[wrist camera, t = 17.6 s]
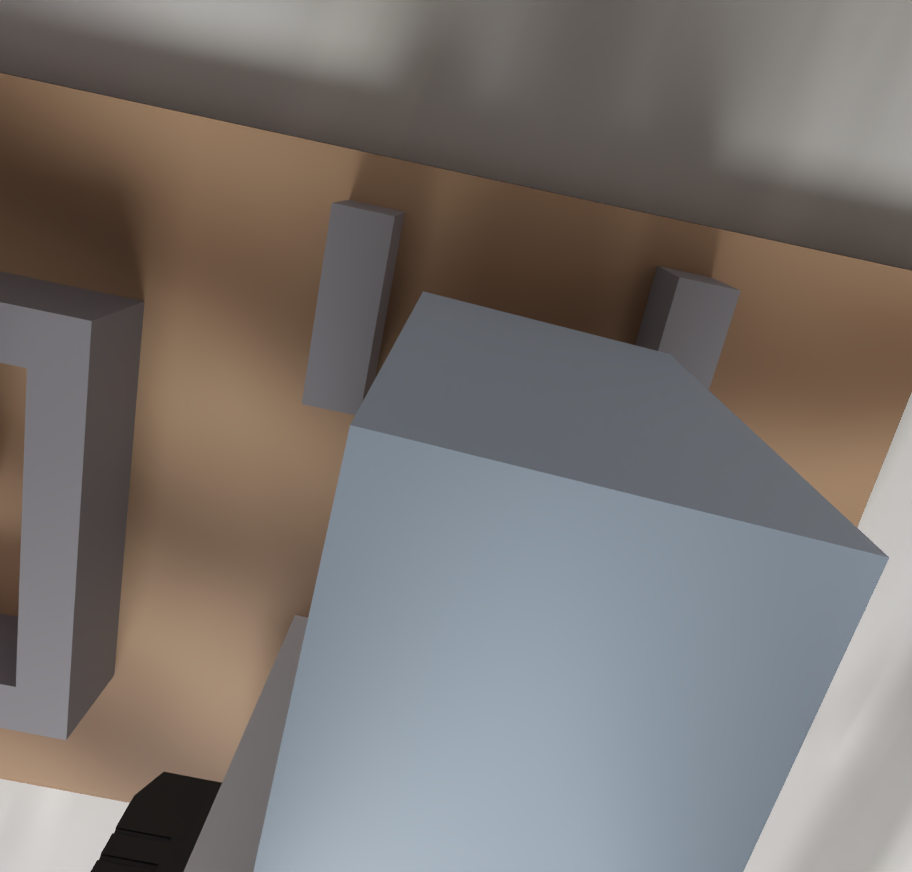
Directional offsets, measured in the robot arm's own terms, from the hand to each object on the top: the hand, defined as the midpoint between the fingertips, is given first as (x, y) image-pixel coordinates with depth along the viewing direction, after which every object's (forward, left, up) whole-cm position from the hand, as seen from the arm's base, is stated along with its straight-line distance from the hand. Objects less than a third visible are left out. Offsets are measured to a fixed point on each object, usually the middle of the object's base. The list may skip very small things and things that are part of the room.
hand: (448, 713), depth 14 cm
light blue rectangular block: (0, 0, -2) cm, 2 cm away
